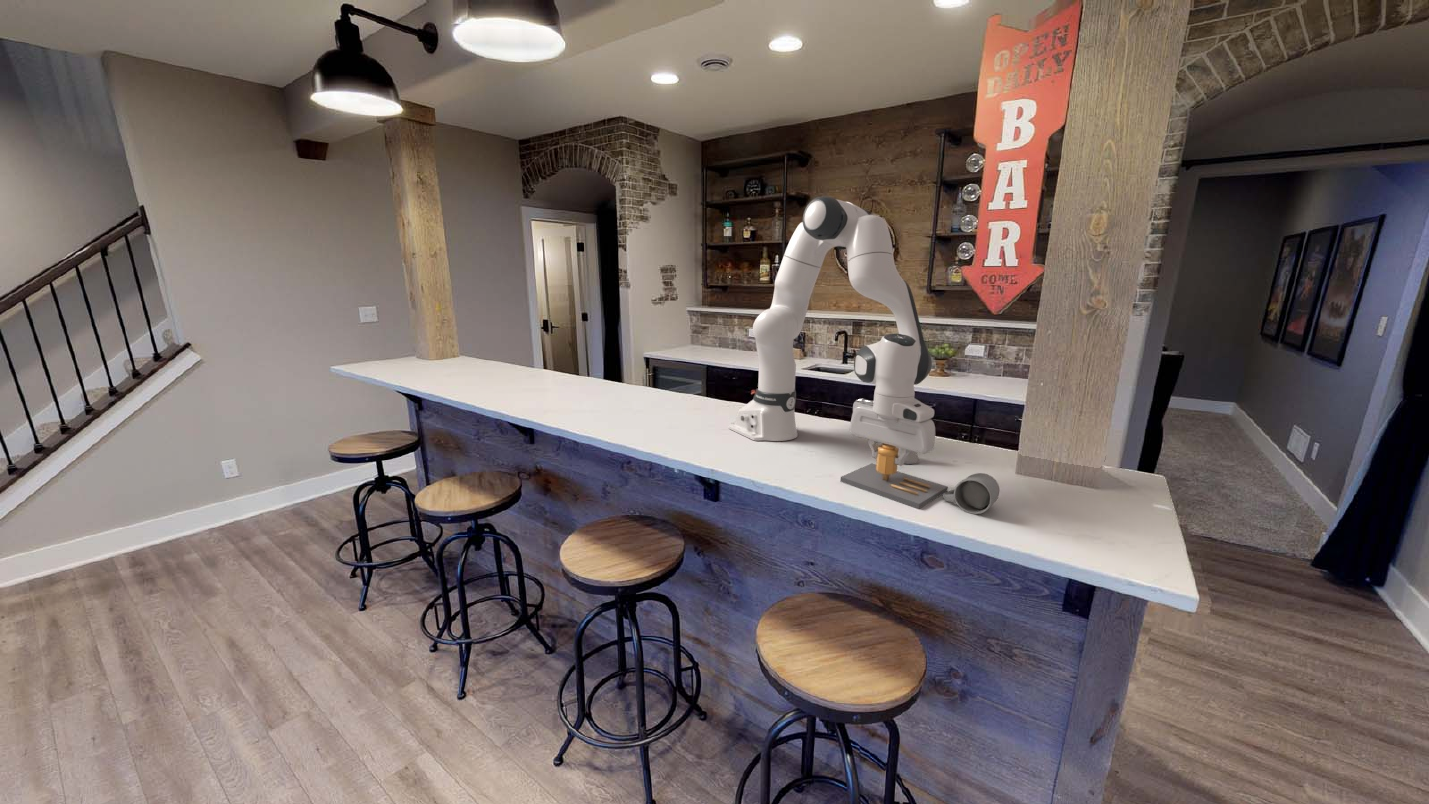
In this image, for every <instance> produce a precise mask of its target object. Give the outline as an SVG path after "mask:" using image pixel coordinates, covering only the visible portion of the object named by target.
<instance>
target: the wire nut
mask: <svg viewBox="0 0 1429 804" xmlns="http://www.w3.org/2000/svg"><path fill="white" fill-rule="evenodd" d="M877 447H878V455H877V459H876V470H877V471H878V472H880V473H883V474H895V473H897V471H898V465H896V464H894V462H895V457H897V456H898V452H899V448H898V447H895V446H892V445H888V444H884V443H882V444H880V445H878V446H877Z"/></svg>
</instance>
